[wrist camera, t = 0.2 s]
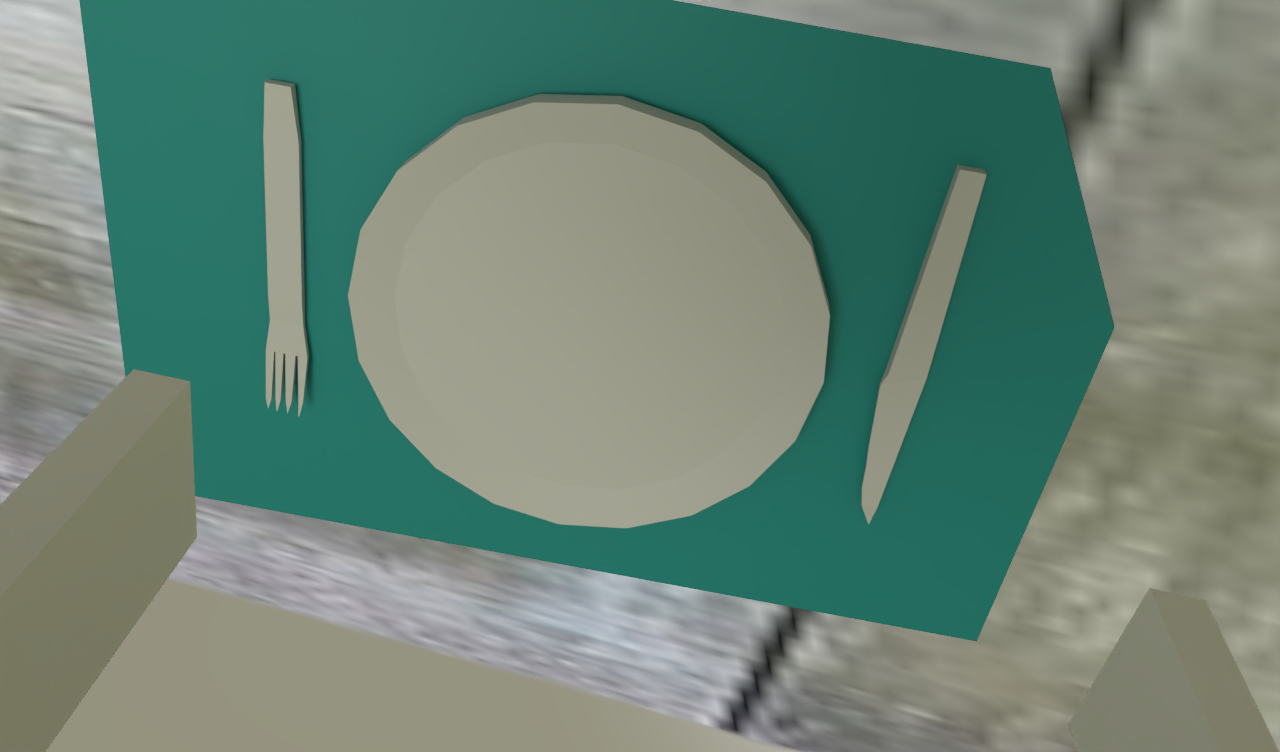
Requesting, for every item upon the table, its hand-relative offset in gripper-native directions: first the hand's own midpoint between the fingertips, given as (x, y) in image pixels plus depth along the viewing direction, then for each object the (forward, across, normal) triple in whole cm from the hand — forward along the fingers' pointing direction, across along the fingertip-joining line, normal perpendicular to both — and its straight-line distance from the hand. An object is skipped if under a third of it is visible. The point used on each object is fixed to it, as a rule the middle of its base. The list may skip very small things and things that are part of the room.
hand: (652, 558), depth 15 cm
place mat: (+30, -3, -13) cm, 33 cm away
